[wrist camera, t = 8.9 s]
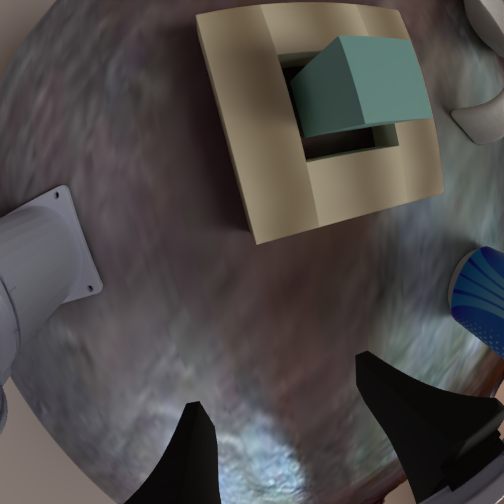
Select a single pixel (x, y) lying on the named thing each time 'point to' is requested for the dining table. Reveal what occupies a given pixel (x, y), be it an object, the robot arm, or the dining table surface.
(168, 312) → the dining table surface
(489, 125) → the spoon rest
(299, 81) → the teal block
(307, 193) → the board
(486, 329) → the beer can
